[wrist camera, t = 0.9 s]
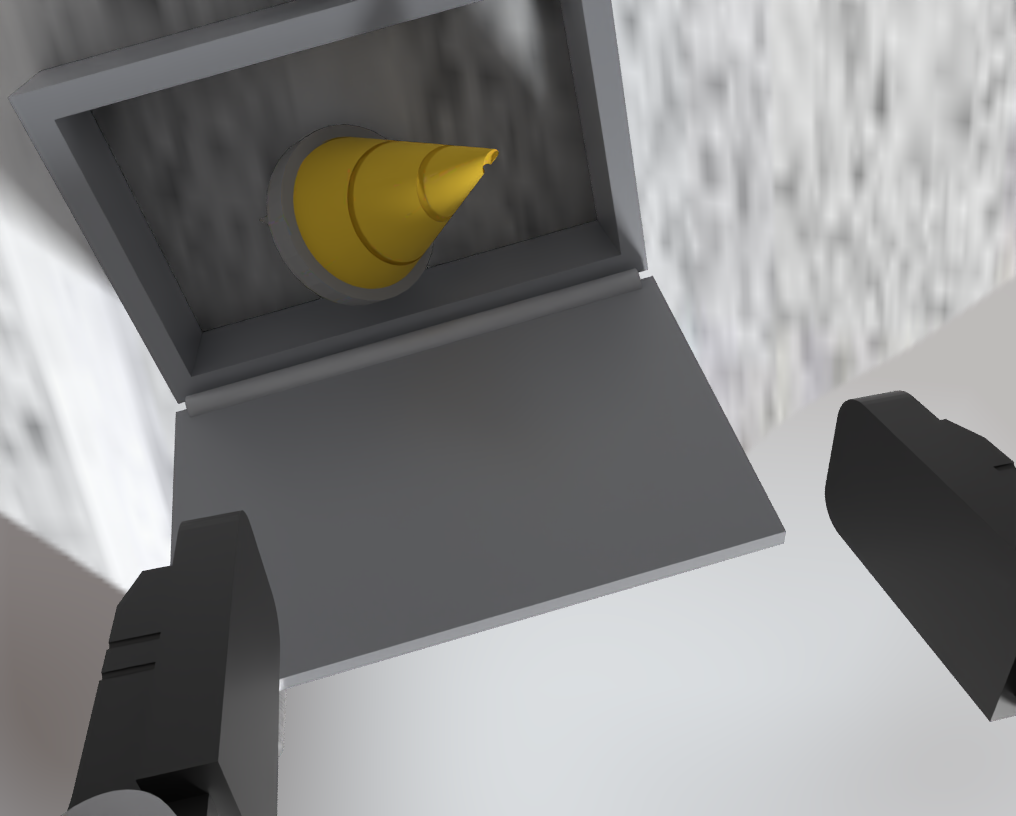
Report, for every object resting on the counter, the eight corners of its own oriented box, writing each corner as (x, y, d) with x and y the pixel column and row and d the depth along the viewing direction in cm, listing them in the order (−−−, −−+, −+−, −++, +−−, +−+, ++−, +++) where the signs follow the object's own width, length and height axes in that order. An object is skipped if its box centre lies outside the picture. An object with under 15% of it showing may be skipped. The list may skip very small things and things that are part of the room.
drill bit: (222, 147, 27) (401, 15, 19) (367, 175, 30) (565, 73, 23) (229, 314, 27) (413, 246, 19) (375, 323, 30) (578, 268, 23)
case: (574, -78, 25) (601, -68, 22) (622, 234, 30) (648, 269, 28) (39, 71, 24) (7, 97, 22) (190, 357, 30) (178, 403, 28)
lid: (787, 523, 21) (783, 543, 22) (648, 258, 28) (649, 281, 28) (157, 706, 21) (176, 720, 21) (170, 395, 27) (184, 414, 28)
